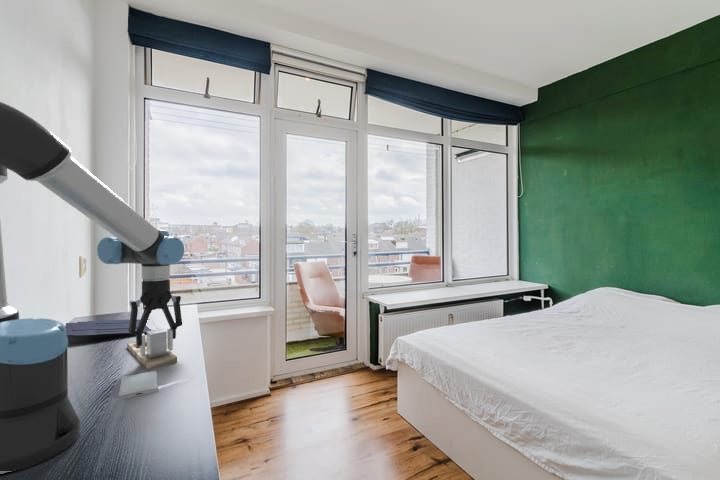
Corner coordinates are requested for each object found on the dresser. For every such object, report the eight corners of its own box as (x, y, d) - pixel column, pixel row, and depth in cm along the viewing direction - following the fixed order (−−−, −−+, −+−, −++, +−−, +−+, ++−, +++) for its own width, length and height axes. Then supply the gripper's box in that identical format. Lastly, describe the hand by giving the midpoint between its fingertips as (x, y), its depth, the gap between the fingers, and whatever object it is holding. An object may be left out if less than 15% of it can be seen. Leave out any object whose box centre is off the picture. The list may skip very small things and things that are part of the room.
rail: (177, 363, 103) (177, 356, 103) (147, 371, 97) (147, 363, 97) (153, 343, 121) (153, 337, 121) (127, 349, 115) (127, 343, 115)
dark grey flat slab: (65, 328, 135) (67, 319, 136) (151, 325, 154) (152, 317, 154) (60, 344, 116) (61, 334, 116) (158, 338, 135) (160, 329, 135)
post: (166, 360, 104) (166, 331, 104) (150, 363, 101) (150, 334, 101) (162, 356, 107) (162, 328, 107) (146, 360, 104) (146, 331, 104)
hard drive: (121, 376, 91) (118, 395, 80) (156, 370, 95) (158, 387, 85) (121, 382, 91) (118, 402, 80) (156, 376, 95) (158, 393, 85)
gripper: (185, 275, 113) (186, 342, 114) (114, 281, 99) (115, 357, 99) (193, 277, 108) (194, 347, 108) (120, 284, 94) (121, 364, 94)
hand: (156, 352), depth 104 cm, fingers open, 7 cm apart
